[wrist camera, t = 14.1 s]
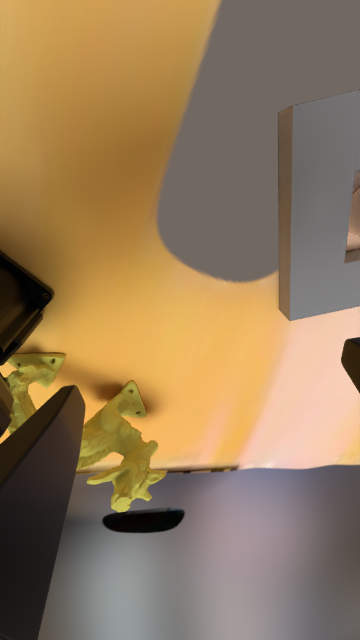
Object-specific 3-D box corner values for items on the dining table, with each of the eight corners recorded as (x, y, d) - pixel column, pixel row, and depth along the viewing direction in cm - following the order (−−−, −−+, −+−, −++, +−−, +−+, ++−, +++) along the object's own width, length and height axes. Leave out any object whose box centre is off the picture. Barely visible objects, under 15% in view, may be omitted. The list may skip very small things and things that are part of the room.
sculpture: (-29, 363, 23) (-144, 480, 14) (-15, 320, 21) (-136, 424, 12) (150, 425, 29) (148, 535, 20) (174, 396, 27) (183, 503, 18)
